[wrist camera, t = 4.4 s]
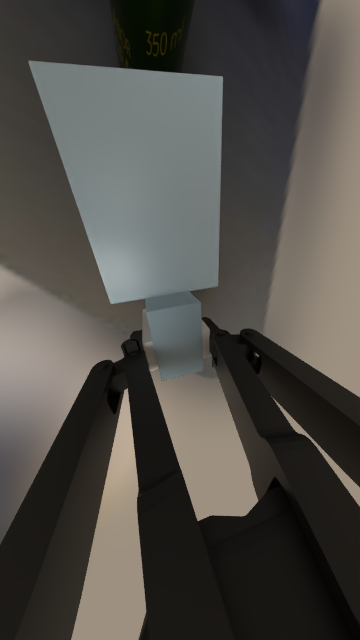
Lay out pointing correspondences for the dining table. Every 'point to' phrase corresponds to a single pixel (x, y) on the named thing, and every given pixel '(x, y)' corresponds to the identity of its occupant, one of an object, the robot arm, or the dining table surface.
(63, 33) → the dining table surface
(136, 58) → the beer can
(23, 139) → the dining table surface
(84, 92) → the lid
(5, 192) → the dining table surface
